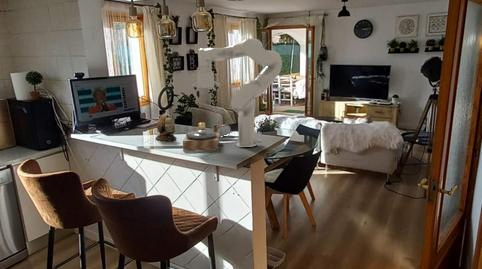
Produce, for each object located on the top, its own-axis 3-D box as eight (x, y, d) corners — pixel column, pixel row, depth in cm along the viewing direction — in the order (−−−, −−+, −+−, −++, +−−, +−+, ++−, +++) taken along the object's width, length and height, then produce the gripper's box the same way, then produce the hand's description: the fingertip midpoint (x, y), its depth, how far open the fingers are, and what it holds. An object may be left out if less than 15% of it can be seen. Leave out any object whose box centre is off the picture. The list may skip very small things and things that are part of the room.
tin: (228, 134, 241) (227, 123, 239) (231, 135, 239) (231, 123, 237) (213, 138, 229) (212, 126, 228) (216, 139, 227) (216, 127, 226)
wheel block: (218, 142, 220) (218, 132, 219) (217, 150, 201) (217, 140, 200) (187, 142, 220) (186, 133, 219) (183, 151, 200) (182, 140, 199)
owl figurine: (182, 139, 228) (180, 114, 225) (167, 143, 220) (165, 116, 216) (166, 135, 240) (164, 111, 237) (151, 139, 232) (149, 113, 228)
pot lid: (216, 138, 201) (215, 127, 199) (184, 139, 200) (184, 128, 198) (216, 132, 218) (216, 122, 217) (187, 133, 217) (187, 122, 216)
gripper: (190, 69, 208) (191, 98, 212) (219, 69, 209) (220, 97, 213) (191, 69, 216) (193, 96, 219) (219, 68, 216) (220, 96, 220)
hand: (206, 97), depth 216 cm, fingers open, 9 cm apart
